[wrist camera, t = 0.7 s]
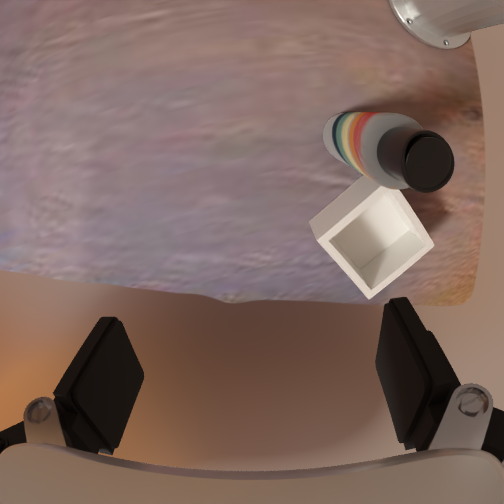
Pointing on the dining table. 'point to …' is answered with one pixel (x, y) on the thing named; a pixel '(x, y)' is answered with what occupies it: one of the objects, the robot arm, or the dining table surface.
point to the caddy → (371, 234)
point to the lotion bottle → (390, 150)
